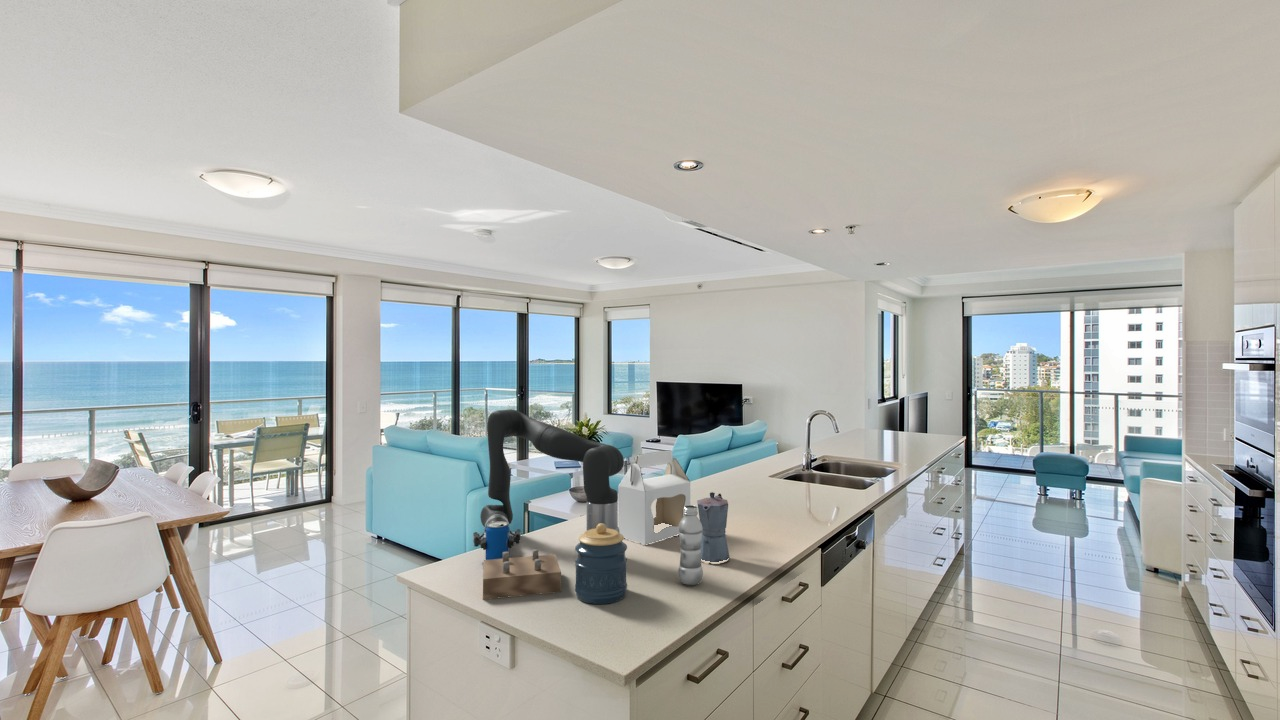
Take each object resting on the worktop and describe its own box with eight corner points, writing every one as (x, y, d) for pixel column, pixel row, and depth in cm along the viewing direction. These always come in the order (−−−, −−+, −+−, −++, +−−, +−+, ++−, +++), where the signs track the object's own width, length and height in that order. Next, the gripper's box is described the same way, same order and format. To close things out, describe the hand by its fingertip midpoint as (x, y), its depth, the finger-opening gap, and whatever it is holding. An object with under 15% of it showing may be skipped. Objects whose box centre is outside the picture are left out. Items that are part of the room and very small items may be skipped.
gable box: (663, 524, 202) (663, 447, 203) (691, 532, 193) (691, 451, 193) (617, 537, 187) (617, 453, 188) (644, 546, 178) (644, 458, 178)
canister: (607, 609, 131) (607, 534, 131) (564, 597, 138) (564, 525, 138) (637, 591, 142) (637, 521, 142) (595, 580, 149) (595, 514, 149)
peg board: (555, 572, 155) (555, 545, 155) (561, 591, 141) (561, 561, 141) (483, 578, 150) (484, 550, 150) (482, 599, 136) (483, 568, 136)
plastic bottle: (705, 580, 149) (705, 505, 149) (699, 589, 142) (699, 511, 143) (681, 577, 151) (681, 503, 151) (675, 586, 144) (675, 508, 145)
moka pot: (690, 565, 160) (690, 495, 160) (705, 549, 174) (705, 485, 175) (723, 570, 156) (723, 498, 157) (735, 553, 171) (735, 487, 171)
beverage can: (502, 571, 156) (503, 527, 156) (481, 569, 157) (481, 526, 157) (512, 563, 162) (512, 521, 162) (491, 561, 163) (492, 520, 163)
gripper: (472, 518, 172) (470, 533, 155) (520, 515, 175) (523, 530, 159) (472, 543, 171) (470, 561, 155) (520, 539, 175) (523, 556, 159)
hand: (497, 545), depth 157 cm, fingers closed on beverage can, 6 cm apart
